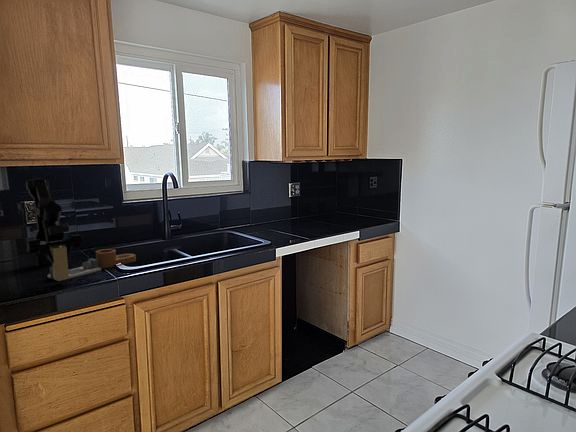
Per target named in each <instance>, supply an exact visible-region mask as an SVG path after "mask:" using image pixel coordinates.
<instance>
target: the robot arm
mask: <svg viewBox="0 0 576 432" xmlns="http://www.w3.org/2000/svg"><path fill="white" fill-rule="evenodd" d="M25 187H26V188H25V189H26V191H28V195H29V196H30V197H31V198H32V199H33V203H34V213H35V218H36V227H37V233H36V234H35V235H34V239H30V240H28V241H27V253H28V254H29V255H31V254H35V255H36V254H37V260H36V261H37V264H35V265H34V267H35V266H36V267H51V266H52V263H54V261H53V257H52V254H51V246H58V245H65V246H66V249H67V261H69V257H70V253H71V251H73V250H74V249H76V248H81V247H83V243H84V237H83V235H82V234H71V236H70V238H68V239H64V238H65V233H69V232H70V227H69V224H68V223H62V224H61V223H60V219H61V215H62V214H61V213H62V212H63V209H62V206H61V205H60V204H59V203H57V201H56V200H54V199H53V198H51V195H50V191H49V189H50V181H49V180H48V179H46V178H34V179H28V180H26V182H25Z"/></svg>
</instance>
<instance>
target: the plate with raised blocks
mask: <svg viewBox="0 0 576 432" xmlns="http://www.w3.org/2000/svg"><path fill="white" fill-rule="evenodd" d="M101 271H102V268H99V267H98V260H96V258H88V259H87V261H84V262H82V263H81V266H80V267H76V268H72V269H68V272H69V278H67V279H61V280H55V279H54V278H53V268H52V266H50V267H49V273H48V274H47V278H48V279H51V280H55V281H57V282H61V281H65V280H69V279H72V278H73V279H74V278H77V277H80V276H85V275H88V274H92V273H97V272H101Z"/></svg>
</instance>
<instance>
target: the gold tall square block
mask: <svg viewBox="0 0 576 432" xmlns="http://www.w3.org/2000/svg"><path fill="white" fill-rule="evenodd" d="M51 254H52V257H53V261H54V263H52V265H51V267H52V268H53V278H54V279H55V281H57V280H61V279H65V280H68V279H67V278H69V272H68V270H69V263H68V261H69V260H68V261H67V249H66V246H65V245H58V246H51ZM54 279H53V280H54ZM69 279H70V278H69ZM61 281H62V280H61Z"/></svg>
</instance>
